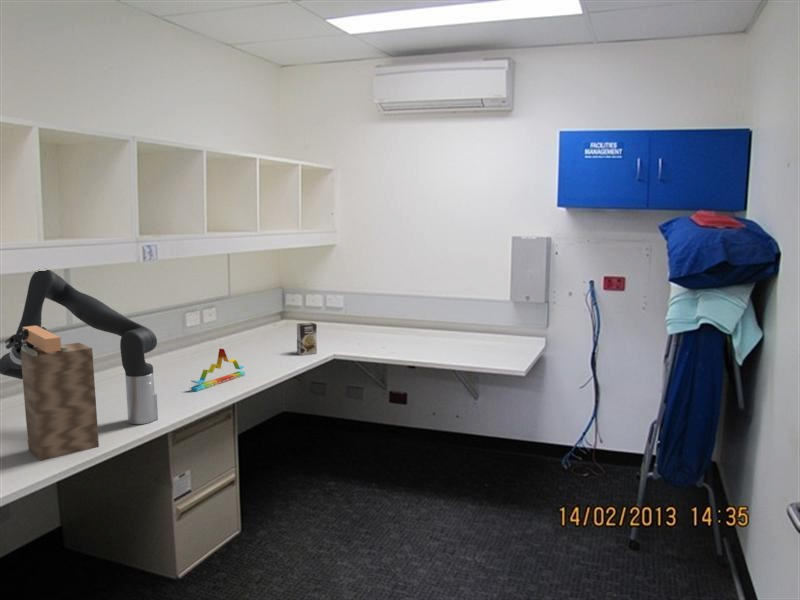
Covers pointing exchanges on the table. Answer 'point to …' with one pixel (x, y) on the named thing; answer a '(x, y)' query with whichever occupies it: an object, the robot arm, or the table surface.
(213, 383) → the chart
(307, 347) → the coffee box
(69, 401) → the stand
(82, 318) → the robot arm
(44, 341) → the tan wooden block
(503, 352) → the table surface
